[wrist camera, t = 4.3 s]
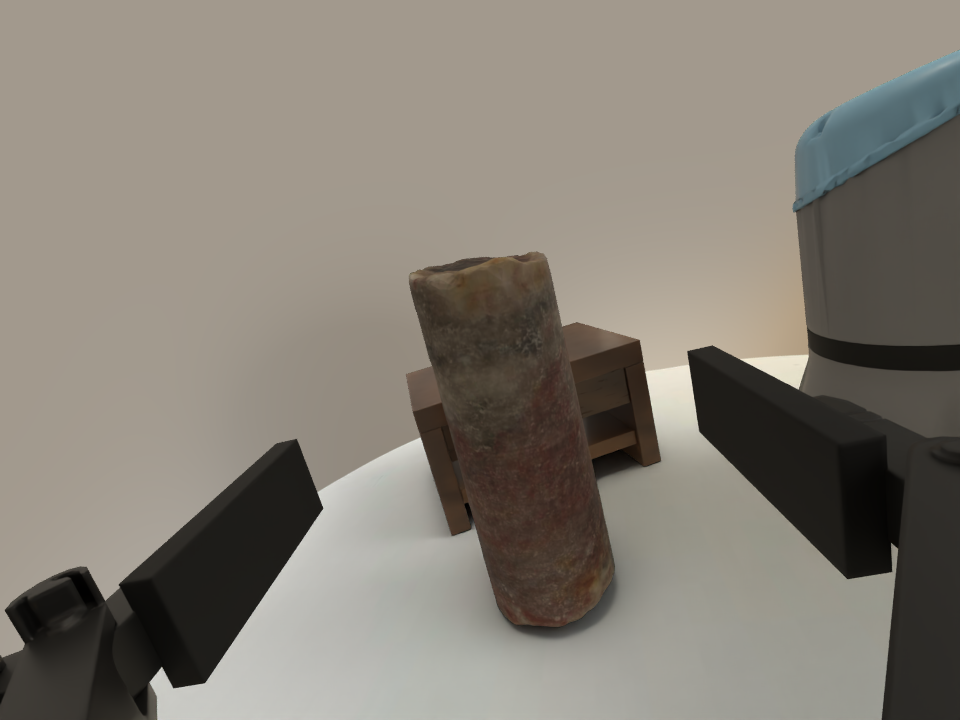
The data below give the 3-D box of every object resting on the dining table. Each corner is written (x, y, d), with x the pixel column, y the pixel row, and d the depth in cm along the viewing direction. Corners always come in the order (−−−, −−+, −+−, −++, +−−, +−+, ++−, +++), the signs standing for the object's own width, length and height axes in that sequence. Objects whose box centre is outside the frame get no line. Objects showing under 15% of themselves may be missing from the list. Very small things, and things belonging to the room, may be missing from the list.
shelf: (596, 415, 49) (577, 322, 46) (661, 460, 37) (640, 339, 35) (435, 469, 47) (405, 374, 44) (451, 536, 35) (412, 411, 32)
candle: (544, 531, 33) (472, 253, 28) (642, 563, 27) (574, 228, 23) (472, 606, 28) (369, 283, 23) (575, 662, 22) (470, 259, 18)
